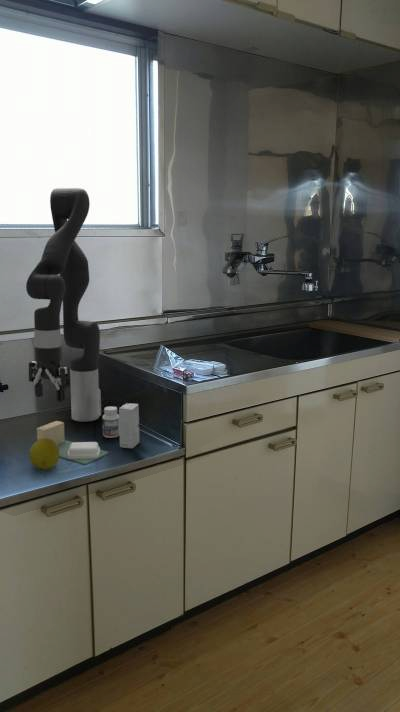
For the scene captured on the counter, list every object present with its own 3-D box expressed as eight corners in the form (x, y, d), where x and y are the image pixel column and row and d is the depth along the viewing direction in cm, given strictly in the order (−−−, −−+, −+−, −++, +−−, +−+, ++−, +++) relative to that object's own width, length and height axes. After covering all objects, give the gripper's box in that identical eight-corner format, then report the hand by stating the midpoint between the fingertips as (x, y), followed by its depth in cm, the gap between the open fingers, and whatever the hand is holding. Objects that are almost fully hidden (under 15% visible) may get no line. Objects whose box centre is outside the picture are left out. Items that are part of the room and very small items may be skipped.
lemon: (57, 475, 157) (56, 446, 155) (26, 475, 157) (25, 447, 155) (62, 459, 168) (61, 432, 166) (34, 459, 167) (33, 432, 165)
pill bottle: (105, 431, 190) (105, 405, 188) (121, 432, 189) (121, 406, 187) (100, 437, 185) (99, 410, 183) (116, 438, 184) (116, 411, 182)
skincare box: (133, 448, 176) (132, 409, 174) (118, 447, 177) (118, 408, 175) (140, 441, 182) (139, 403, 179) (126, 440, 183) (125, 402, 180)
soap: (100, 449, 174) (100, 439, 174) (99, 458, 168) (99, 448, 167) (69, 450, 173) (68, 440, 173) (66, 459, 167) (66, 449, 166)
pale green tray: (58, 439, 183) (57, 419, 181) (109, 453, 172) (108, 432, 171) (33, 449, 174) (32, 428, 173) (85, 464, 164) (84, 443, 163)
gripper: (75, 345, 170) (76, 400, 174) (40, 339, 177) (41, 392, 181) (56, 349, 164) (58, 406, 167) (20, 343, 171) (22, 397, 175)
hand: (49, 399), depth 174 cm, fingers open, 8 cm apart
